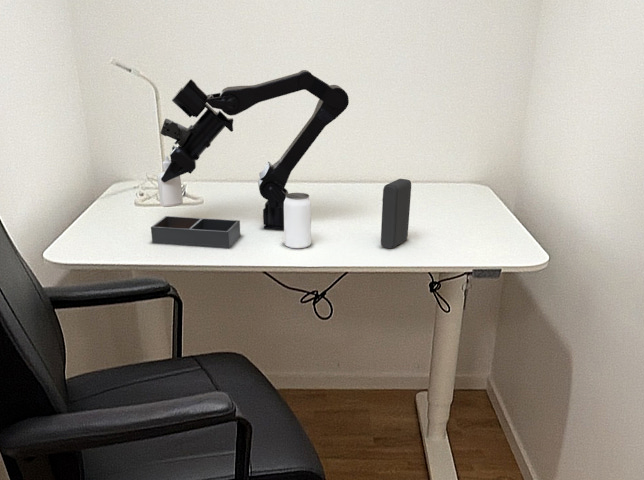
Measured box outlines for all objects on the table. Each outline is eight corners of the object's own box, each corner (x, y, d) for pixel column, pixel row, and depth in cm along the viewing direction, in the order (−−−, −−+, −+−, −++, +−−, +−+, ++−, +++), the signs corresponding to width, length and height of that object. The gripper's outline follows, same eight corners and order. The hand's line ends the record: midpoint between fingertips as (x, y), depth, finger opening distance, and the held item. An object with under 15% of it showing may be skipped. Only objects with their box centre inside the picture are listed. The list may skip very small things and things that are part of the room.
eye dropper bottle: (182, 207, 186) (177, 157, 180) (159, 207, 186) (153, 158, 180) (183, 202, 190) (179, 154, 184) (161, 203, 189) (156, 154, 183)
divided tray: (166, 231, 189) (165, 215, 187) (240, 236, 186) (239, 220, 184) (152, 243, 180) (150, 227, 178) (229, 248, 178) (228, 232, 176)
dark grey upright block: (394, 237, 187) (398, 177, 179) (409, 240, 185) (413, 179, 178) (378, 247, 180) (381, 184, 172) (393, 250, 178) (396, 186, 171)
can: (301, 250, 177) (301, 200, 171) (279, 246, 180) (278, 196, 174) (315, 243, 181) (316, 194, 176) (294, 239, 184) (293, 190, 178)
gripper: (180, 101, 185) (141, 148, 189) (176, 113, 168) (132, 164, 173) (214, 133, 189) (175, 178, 194) (213, 148, 173) (170, 196, 177)
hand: (163, 178), depth 184 cm, fingers closed on eye dropper bottle, 4 cm apart
